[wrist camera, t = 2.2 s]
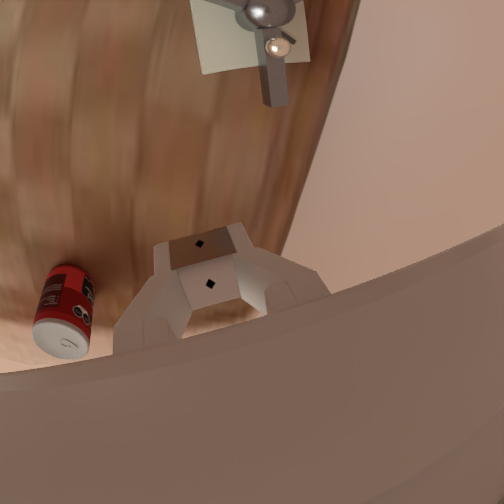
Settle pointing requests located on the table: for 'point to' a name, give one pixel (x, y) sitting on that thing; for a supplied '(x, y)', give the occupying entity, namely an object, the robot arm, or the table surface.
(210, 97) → the table surface
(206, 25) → the stand plate
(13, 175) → the table surface
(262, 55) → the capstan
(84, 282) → the canned food
